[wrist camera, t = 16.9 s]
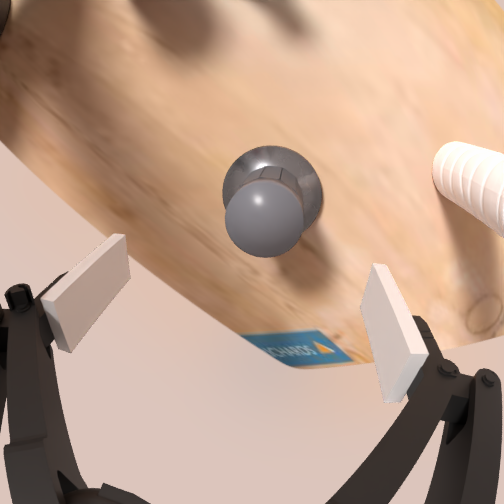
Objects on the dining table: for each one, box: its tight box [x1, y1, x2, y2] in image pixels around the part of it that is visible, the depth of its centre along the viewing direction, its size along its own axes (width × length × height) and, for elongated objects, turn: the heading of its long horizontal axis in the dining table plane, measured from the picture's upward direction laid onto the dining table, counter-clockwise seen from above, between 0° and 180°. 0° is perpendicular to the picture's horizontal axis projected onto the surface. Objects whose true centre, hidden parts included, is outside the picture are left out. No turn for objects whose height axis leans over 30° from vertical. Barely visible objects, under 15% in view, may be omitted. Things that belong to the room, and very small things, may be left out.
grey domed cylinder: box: [225, 166, 304, 258], centre depth 27 cm, size 6×6×8 cm
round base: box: [223, 146, 322, 232], centre depth 29 cm, size 10×10×6 cm
